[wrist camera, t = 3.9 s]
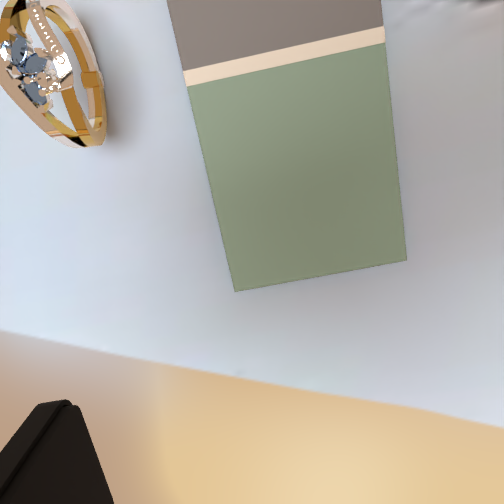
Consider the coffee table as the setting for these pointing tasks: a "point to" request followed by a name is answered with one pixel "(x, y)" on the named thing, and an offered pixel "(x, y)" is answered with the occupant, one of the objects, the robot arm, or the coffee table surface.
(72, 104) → the ring
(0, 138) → the coffee table surface
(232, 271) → the board
